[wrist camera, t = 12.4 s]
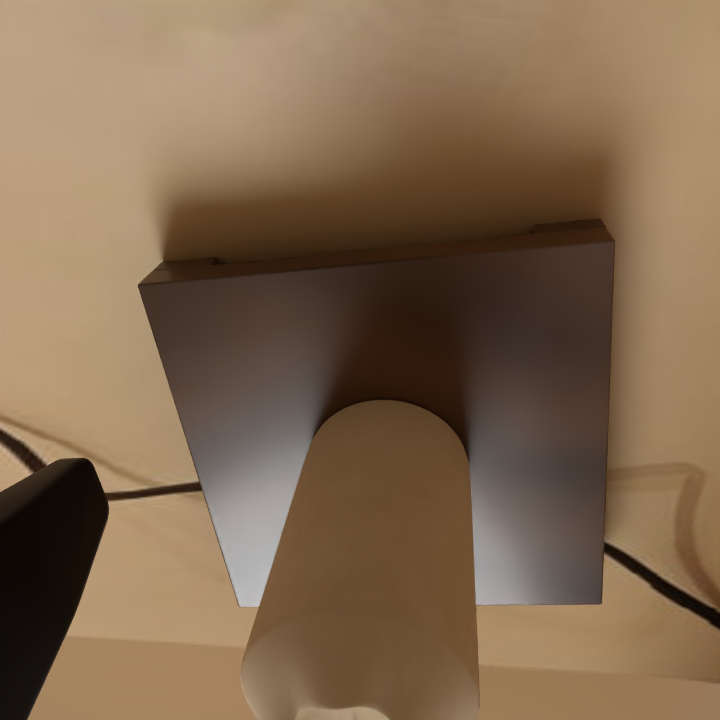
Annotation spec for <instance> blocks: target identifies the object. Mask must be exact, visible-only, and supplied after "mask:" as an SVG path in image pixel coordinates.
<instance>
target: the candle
mask: <svg viewBox="0 0 720 720" xmlns="http://www.w3.org/2000/svg"><path fill="white" fill-rule="evenodd" d="M240 679H241V687H242V691H243V694H244V696H245V699H246V701H247V703H248V705H249V707H250V708H251V710H252V711H253V712H254V714H255V716H256V717H257V719H258V720H476V719H477V716H478V712H479V707H480V692H479V665H478V641H477V617H476V594H475V570H474V546H473V522H472V499H471V479H470V468H469V462H468V458H467V455H466V452H465V450H464V447H463V445H462V443H461V441H460V439H459V437H458V436H457V435H456V433H455V432H454V431H453V430H452V429H451V427H450V426H449V425H448V424H447V423H445V422H444V421H443V420H442V419H440V418H439V417H438V416H436V415H435V414H433V413H431V412H430V411H428V410H426V409H423V408H421V407H419V406H416V405H413V404H410V403H405V402H401V401H393V400H373V401H365V402H361V403H357V404H354V405H351V406H349V407H346V408H344V409H342V410H341V411H339V412H337V413H336V414H334V415H333V416H331V417H330V418H329V419H328V420H327V421H326V422H325V423H324V424H323V425H322V426H321V427H320V429H319V430H318V431H317V433H316V435H315V436H314V438H313V440H312V442H311V443H310V446H309V449H308V452H307V455H306V458H305V461H304V464H303V466H302V470H301V473H300V476H299V479H298V483H297V486H296V489H295V492H294V495H293V499H292V502H291V505H290V508H289V512H288V515H287V518H286V521H285V525H284V528H283V531H282V534H281V537H280V541H279V544H278V547H277V550H276V554H275V557H274V560H273V563H272V566H271V570H270V573H269V576H268V579H267V583H266V586H265V589H264V592H263V596H262V599H261V602H260V605H259V608H258V612H257V615H256V618H255V621H254V625H253V628H252V631H251V634H250V638H249V641H248V644H247V647H246V650H245V654H244V657H243V661H242V664H241V671H240Z"/></svg>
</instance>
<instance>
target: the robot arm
mask: <svg viewBox="0 0 720 720" xmlns="http://www.w3.org/2000/svg"><path fill="white" fill-rule="evenodd" d="M108 515H109V506H108V501H107V498H106V495H105V493H104V490H103V488H102V486H101V483H100V481H99V478H98V476H97V473H96V471H95V468H94V466H93V464H92V463H91V462H90V461H89V460H88V459H86V458H68V459H60V460H57V461H55V462H53V463H51V464H49V465H48V466H46V467H44V468H42V469H41V470H39V471H37V472H35V473H33V474H32V475H30V476H28V477H26V478H25V479H23V480H21V481H19V482H17V483H16V484H14V485H12V486H10V487H9V488H7V489H5V490H3V491H2V492H0V720H27V719H28V717H29V715H30V712H31V710H32V708H33V706H34V704H35V701H36V699H37V697H38V695H39V693H40V690H41V688H42V686H43V684H44V682H45V680H46V677H47V675H48V673H49V671H50V669H51V666H52V664H53V662H54V660H55V658H56V655H57V653H58V651H59V649H60V646H61V644H62V642H63V640H64V638H65V636H66V634H67V631H68V629H69V627H70V624H71V622H72V620H73V617H74V615H75V613H76V610H77V607H78V605H79V602H80V599H81V597H82V594H83V591H84V588H85V585H86V582H87V579H88V576H89V573H90V570H91V567H92V564H93V561H94V558H95V555H96V552H97V549H98V547H99V544H100V541H101V538H102V535H103V532H104V529H105V526H106V523H107V520H108Z"/></svg>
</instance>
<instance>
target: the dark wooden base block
mask: <svg viewBox="0 0 720 720" xmlns="http://www.w3.org/2000/svg"><path fill="white" fill-rule="evenodd" d="M532 231H533V234H529V235H519V236H508V237H498V238H488V239H477V240H467V241H457V242H447V243H436V244H426V245H416V246H405V247H395V248H385V249H375V250H364V251H354V252H344V253H333V254H323V255H313V256H302V257H292V258H282V259H272V260H261V261H251V262H241V263H230V264H220V265H219V262H218V259H217V257H212V258H201V259H191V260H181V261H171V262H162V263H161V264H159V265H158V266H157V267H156V268H155V269H154V270H153V271H152V272H151V273H150V274H149V275H148V276H147V277H145V278H144V279H143V280H142V281H141V282H140V283H139V284H138V288H139V291H140V294H141V298H142V301H143V304H144V307H145V310H146V313H147V317H148V320H149V323H150V326H151V329H152V332H153V336H154V339H155V342H156V345H157V348H158V351H159V355H160V358H161V361H162V364H163V367H164V370H165V374H166V377H167V380H168V383H169V386H170V389H171V393H172V396H173V399H174V402H175V405H176V409H177V412H178V415H179V418H180V421H181V424H182V428H183V431H184V434H185V437H186V440H187V443H188V447H189V450H190V453H191V456H192V459H193V462H194V466H195V469H196V472H197V475H198V478H199V481H200V485H201V488H202V491H203V494H204V497H205V500H206V504H207V507H208V510H209V513H210V516H211V519H212V523H213V526H214V529H215V532H216V535H217V539H218V542H219V545H220V548H221V551H222V554H223V558H224V561H225V564H226V567H227V570H228V573H229V577H230V580H231V583H232V586H233V589H234V592H235V596H236V599H237V602H238V605H239V607H259V605H260V602H261V599H262V596H263V592H264V589H265V586H266V583H267V579H268V576H269V573H270V570H271V566H272V563H273V560H274V557H275V554H276V550H277V547H278V544H279V541H280V537H281V534H282V531H283V528H284V525H285V521H286V518H287V515H288V512H289V508H290V505H291V502H292V499H293V495H294V492H295V489H296V486H297V483H298V479H299V476H300V473H301V470H302V466H303V464H304V461H305V458H306V455H307V452H308V449H309V446H310V443H311V442H312V440H313V438H314V436H315V435H316V433H317V431H318V430H319V429H320V427H321V426H322V425H323V424H324V423H325V422H326V421H327V420H328V419H329V418H330V417H331V416H333V415H334V414H336V413H337V412H339V411H341V410H342V409H344V408H346V407H349V406H351V405H354V404H357V403H361V402H365V401H373V400H393V401H401V402H405V403H410V404H413V405H416V406H419V407H421V408H423V409H426V410H428V411H430V412H431V413H433V414H435V415H436V416H438V417H439V418H440V419H442V420H443V421H444V422H445V423H447V424H448V425H449V426H450V427H451V429H452V430H453V431H454V432H455V433H456V435H457V436H458V437H459V439H460V441H461V443H462V445H463V447H464V450H465V452H466V455H467V458H468V462H469V468H470V479H471V499H472V522H473V546H474V570H475V594H476V605H583V604H602V588H603V561H604V533H605V506H606V478H607V451H608V423H609V396H610V369H611V341H612V314H613V286H614V259H615V240H614V238H613V237H612V235H611V234H610V232H609V231H608V229H607V228H606V226H605V224H604V223H603V221H602V220H601V219H592V220H581V221H571V222H561V223H551V224H541V225H534V226H533V227H532Z"/></svg>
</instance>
